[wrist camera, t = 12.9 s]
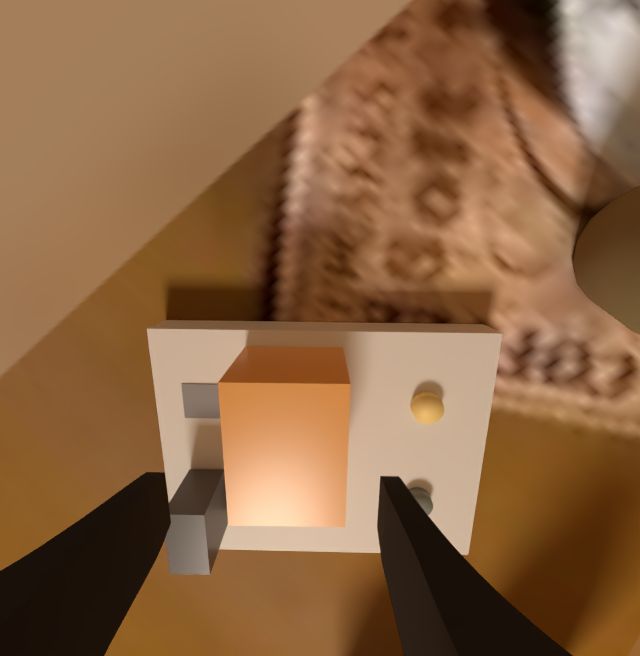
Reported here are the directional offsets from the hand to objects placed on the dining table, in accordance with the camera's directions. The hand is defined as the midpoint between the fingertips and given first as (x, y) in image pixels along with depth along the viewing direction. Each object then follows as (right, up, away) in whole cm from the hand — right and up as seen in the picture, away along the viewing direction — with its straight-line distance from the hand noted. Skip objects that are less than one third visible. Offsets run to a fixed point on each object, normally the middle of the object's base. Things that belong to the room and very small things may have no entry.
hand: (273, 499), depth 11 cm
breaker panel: (+2, -1, +9) cm, 9 cm away
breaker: (-5, -4, +8) cm, 10 cm away
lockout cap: (0, +2, +7) cm, 7 cm away
